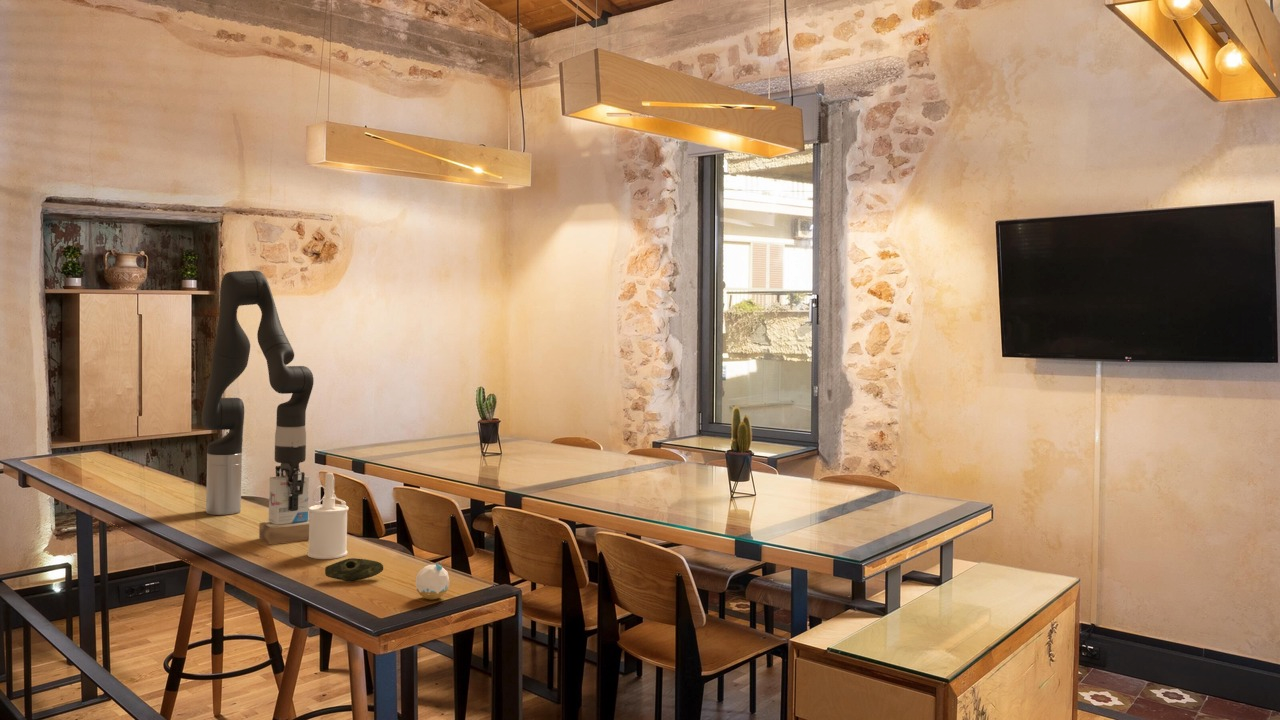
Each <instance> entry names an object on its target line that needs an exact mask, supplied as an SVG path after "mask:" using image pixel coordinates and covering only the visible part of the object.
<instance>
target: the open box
mask: <svg viewBox="0 0 1280 720" xmlns="http://www.w3.org/2000/svg"><path fill="white" fill-rule="evenodd" d="M258 528H259V529H258V531H259V533H258V536H259V537H258V539H260V540H262V541H263V542H265V543H267V544H269V545H278V544H286V543H294V542H301V541H309V518H308V521H306V522H297V523H288V524H280V525H275V524H273V523H271V522H269V520H268V521H267V520H266V521H262V522H259V527H258Z"/></svg>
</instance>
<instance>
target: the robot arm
mask: <svg viewBox="0 0 1280 720" xmlns="http://www.w3.org/2000/svg"><path fill="white" fill-rule="evenodd" d="M251 305H252V306H253V305H257V306H258V308H259V310H260V311H261V317H260V321H259V324H258V325H259V326H258V329H257V335H256V336H257V337H256V338H257V344H258V345H259V348H260V349H261V352H262V354H263V356H264V358H265V360H266V365H267V372H268V381H269V384H270V386H271V388H272V389H273V390H274V391H275V392H276V393H278V394H282V395H283V394H286V395H287V394H291V397H290V398H289V400H288V401H285V402H282V403H279V404H278V405H277V408H276V423H275V425H276V427H275V433H274V462H276V463H277V464H280V465H275V468H274V469H275V477H279V476H280V477H285V478H286V487H287V488H288V492H289V511H297V510H298V496H300V495H301V494H303V486H304V476H306V475H305V474H306V473H305V472H304V471H301V469H300V464H301V463H304V462H306V459H307V455H306V454H307V453H306V452H307V451H306V450H307V431H306V419H307V418H306V416H307V415H306V414H307V413H306V411H307V409H308V408H307V407H308V404H309V400H310V397H311V394H312V391H313V388H314V379H315V378H314V374H313V373H312V370H311V369H310V368H309V367H307V366H304V365H289V364H290V363H291V362H292V361H293V360H294V359H295V351H294V349H293V347H292V345H291V343H290V341H289V339H288V337H287V335H286V332H285V331H284V328H283V326H282V324H281V320H280V317H279V313H278V311H277V306H276V303H275V300H274V297H273V293H272V289H271V286H270V285H269V281H268V279H267V277H266V276H265V274H264V273H263V272H261V271H260V270H238V271H237V270H235V271H227V272H226V273H225V274H224V275H223V276H222V279H221V284H220V291H219V305H218V306H219V307H218V308H219V309H218V310H219V311H218V322H217V328H216V335H215V340H214V345H213V351H212V356H211V357H212V358H211V366H210V373H209V375H210V376H209V380H208V385H207V388H206V393H205V397H204V401H203V406H202V410H201V411H202V412H201V424H202V426H203V427H204V429H206V430H209V431H222V430H224V431H225V430H226V431H227V430H228V433H227V434H226V435H224V436H222V438H218V439H216V440H213V441H212V442H210V443H208V444H207V447H206V449H207V451H206V452H207V453H206V497H205V498H206V499H205V500H206V501H205V513H206V514H208V515H213V516H214V515H215V516H216V515H217V516H223V515H224V516H225V515H232V514H233V515H234V514H238V513H241V508H242V473H243V471H242V469H243V468H242V467H243V466H242V465H243V464H242V463H243V462H242V461H243V457H242V456H243V439H244V437H243V436H244V435H243V434H244V422H245V405H244V402H243V399H241V398H240V397H223V394H224V393H225V391H226V390H227V389H228V387H230V385H231V384H232V383H234V382H235V381H236V380H237V379H238V378H239V377H240V376H241V375H242V374H243V373H244V371H245V369H246V368H247V367H248V363H249V359H250V354H251V353H250V351H251V343H250V339H249V337H248V335H247V334H246V332H245V331H244V329H243V328H242V326H241V325H240V323H239V320H238V315H237V314H238V309H239V307H241V306H251ZM287 365H288V366H287ZM289 482H293V483H292V484H290V483H289ZM299 486H300V489H299Z"/></svg>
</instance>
